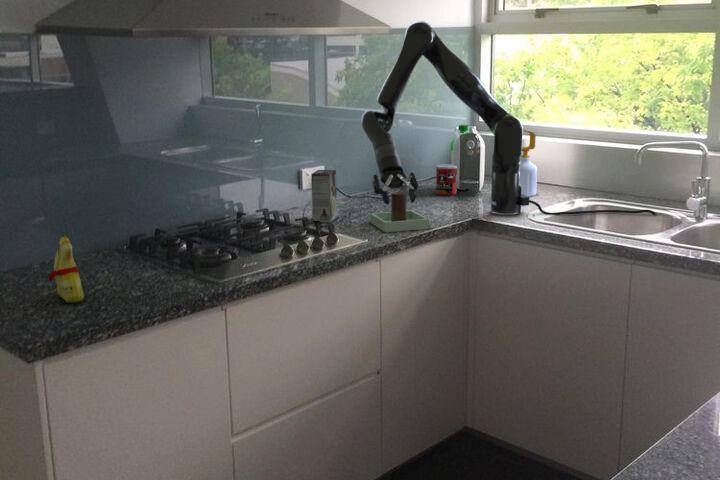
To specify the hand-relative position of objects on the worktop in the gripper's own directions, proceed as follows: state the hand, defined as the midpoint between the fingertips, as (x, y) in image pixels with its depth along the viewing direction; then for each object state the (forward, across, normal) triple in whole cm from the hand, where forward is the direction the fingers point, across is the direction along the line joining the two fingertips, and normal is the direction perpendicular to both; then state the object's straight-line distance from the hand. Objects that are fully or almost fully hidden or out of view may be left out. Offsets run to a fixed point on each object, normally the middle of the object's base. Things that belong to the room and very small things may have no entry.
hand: (400, 202), depth 263 cm
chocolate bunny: (+36, -100, -25) cm, 109 cm away
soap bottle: (-18, +62, +29) cm, 71 cm away
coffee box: (-7, -20, +19) cm, 28 cm away
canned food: (-26, +35, +37) cm, 57 cm away
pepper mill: (+4, 0, +6) cm, 7 cm away
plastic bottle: (-31, +45, +42) cm, 69 cm away
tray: (+5, 0, +6) cm, 8 cm away
